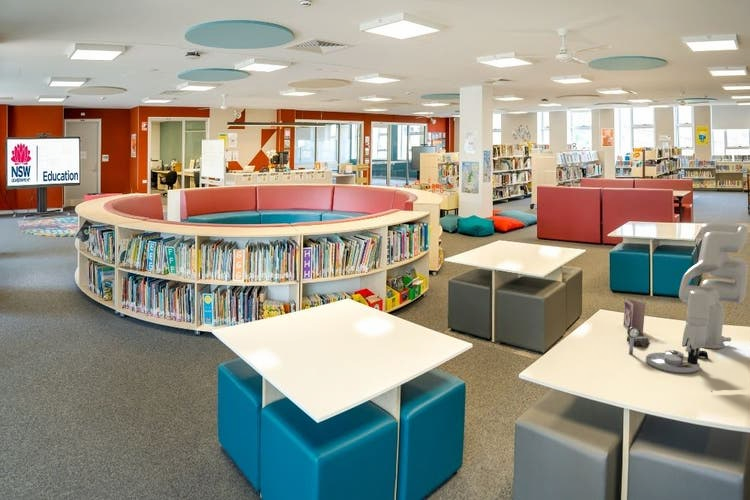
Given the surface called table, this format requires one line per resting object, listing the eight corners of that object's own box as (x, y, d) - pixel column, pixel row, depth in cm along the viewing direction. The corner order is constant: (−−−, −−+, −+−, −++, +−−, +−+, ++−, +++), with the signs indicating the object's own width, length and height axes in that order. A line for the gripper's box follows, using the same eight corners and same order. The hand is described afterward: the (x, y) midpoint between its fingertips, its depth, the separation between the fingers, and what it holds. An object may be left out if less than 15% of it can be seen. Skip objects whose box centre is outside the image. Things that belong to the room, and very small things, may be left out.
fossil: (654, 350, 250) (644, 331, 249) (633, 357, 253) (624, 338, 252) (649, 341, 260) (640, 323, 259) (629, 348, 263) (620, 330, 262)
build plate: (687, 362, 237) (688, 352, 237) (683, 357, 244) (684, 347, 243) (719, 366, 234) (720, 356, 233) (714, 360, 241) (715, 350, 240)
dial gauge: (639, 354, 246) (642, 324, 244) (647, 358, 240) (650, 328, 238) (620, 354, 246) (623, 324, 243) (627, 359, 240) (630, 329, 237)
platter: (639, 354, 242) (641, 340, 241) (688, 357, 239) (690, 343, 237) (654, 372, 223) (655, 356, 221) (707, 375, 219) (709, 360, 218)
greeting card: (621, 325, 287) (623, 298, 284) (636, 326, 286) (638, 298, 283) (629, 332, 275) (631, 304, 273) (644, 333, 275) (647, 304, 272)
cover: (661, 358, 233) (662, 348, 232) (679, 359, 232) (680, 349, 231) (666, 364, 226) (668, 353, 226) (685, 366, 225) (686, 355, 224)
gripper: (696, 315, 230) (692, 356, 233) (677, 321, 221) (673, 364, 225) (715, 319, 223) (710, 362, 227) (697, 326, 215) (692, 370, 219)
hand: (692, 363), depth 226 cm, fingers closed
